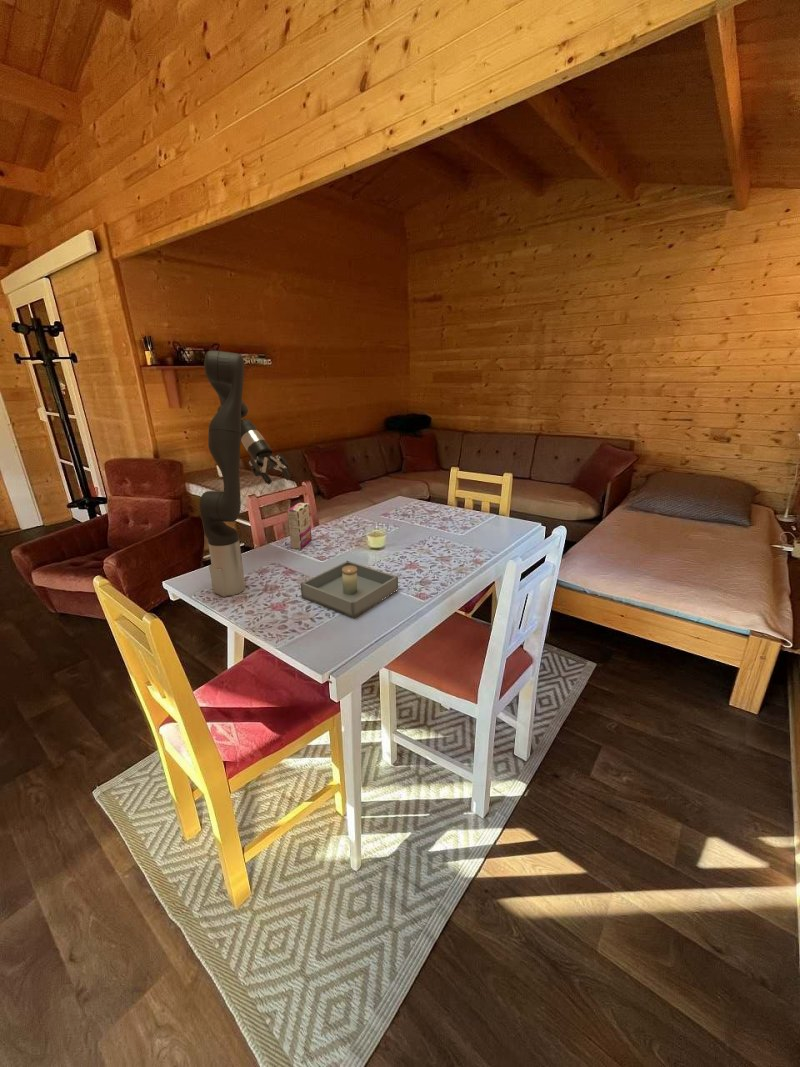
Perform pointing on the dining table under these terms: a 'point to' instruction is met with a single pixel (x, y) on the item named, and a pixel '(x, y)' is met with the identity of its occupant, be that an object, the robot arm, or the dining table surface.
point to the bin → (330, 594)
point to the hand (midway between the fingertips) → (279, 480)
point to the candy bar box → (299, 525)
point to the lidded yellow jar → (349, 579)
